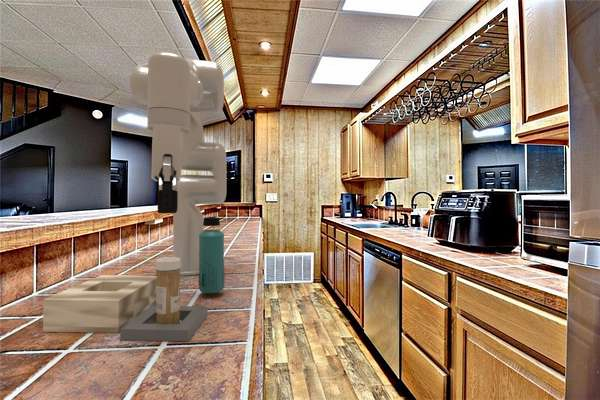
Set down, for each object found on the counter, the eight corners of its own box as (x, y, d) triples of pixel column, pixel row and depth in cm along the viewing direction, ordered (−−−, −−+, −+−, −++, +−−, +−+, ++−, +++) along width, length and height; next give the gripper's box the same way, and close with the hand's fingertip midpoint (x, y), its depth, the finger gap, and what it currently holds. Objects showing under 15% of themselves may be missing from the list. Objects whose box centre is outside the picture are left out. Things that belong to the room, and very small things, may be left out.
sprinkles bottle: (182, 328, 64) (183, 259, 63) (157, 333, 61) (157, 261, 61) (177, 320, 67) (177, 255, 67) (153, 325, 65) (153, 257, 65)
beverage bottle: (229, 292, 86) (230, 216, 86) (214, 300, 80) (215, 218, 79) (208, 290, 88) (208, 215, 88) (192, 297, 82) (192, 217, 82)
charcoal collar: (151, 314, 70) (151, 305, 70) (207, 315, 70) (207, 306, 70) (120, 340, 58) (120, 329, 58) (188, 341, 58) (188, 330, 58)
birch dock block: (101, 299, 79) (101, 274, 79) (159, 300, 79) (159, 275, 79) (43, 331, 61) (43, 299, 61) (118, 332, 61) (118, 300, 61)
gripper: (151, 129, 70) (150, 209, 70) (142, 109, 54) (141, 214, 54) (188, 131, 73) (188, 209, 73) (191, 114, 56) (190, 214, 57)
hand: (168, 211), depth 63 cm, fingers open, 9 cm apart
